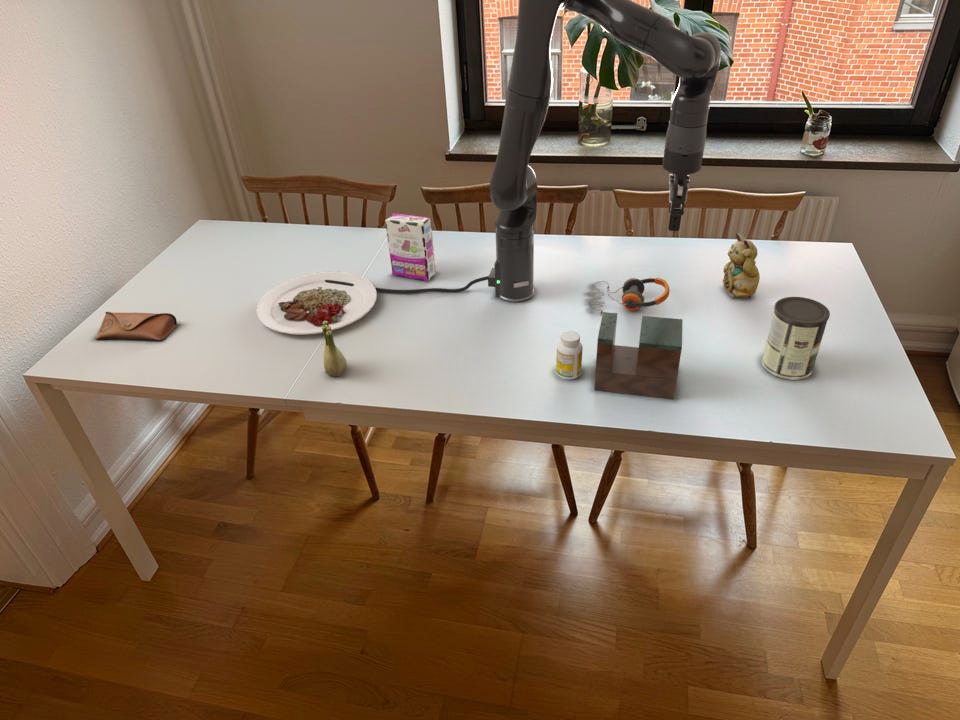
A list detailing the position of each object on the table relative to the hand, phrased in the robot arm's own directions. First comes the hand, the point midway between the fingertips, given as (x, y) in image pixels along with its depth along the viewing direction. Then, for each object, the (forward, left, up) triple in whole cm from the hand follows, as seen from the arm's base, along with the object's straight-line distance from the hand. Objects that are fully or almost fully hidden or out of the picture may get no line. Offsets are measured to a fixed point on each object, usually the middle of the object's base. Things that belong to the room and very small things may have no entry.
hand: (673, 221), depth 145 cm
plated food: (-84, -6, -27) cm, 89 cm away
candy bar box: (-65, +14, -27) cm, 72 cm away
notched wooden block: (-4, -22, -27) cm, 34 cm away
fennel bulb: (-68, -31, -27) cm, 80 cm away
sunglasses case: (-124, -25, -27) cm, 129 cm away
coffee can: (+27, -11, -27) cm, 39 cm away
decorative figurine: (+19, +19, -27) cm, 38 cm away
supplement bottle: (-18, -22, -27) cm, 39 cm away
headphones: (-8, +9, -27) cm, 29 cm away
